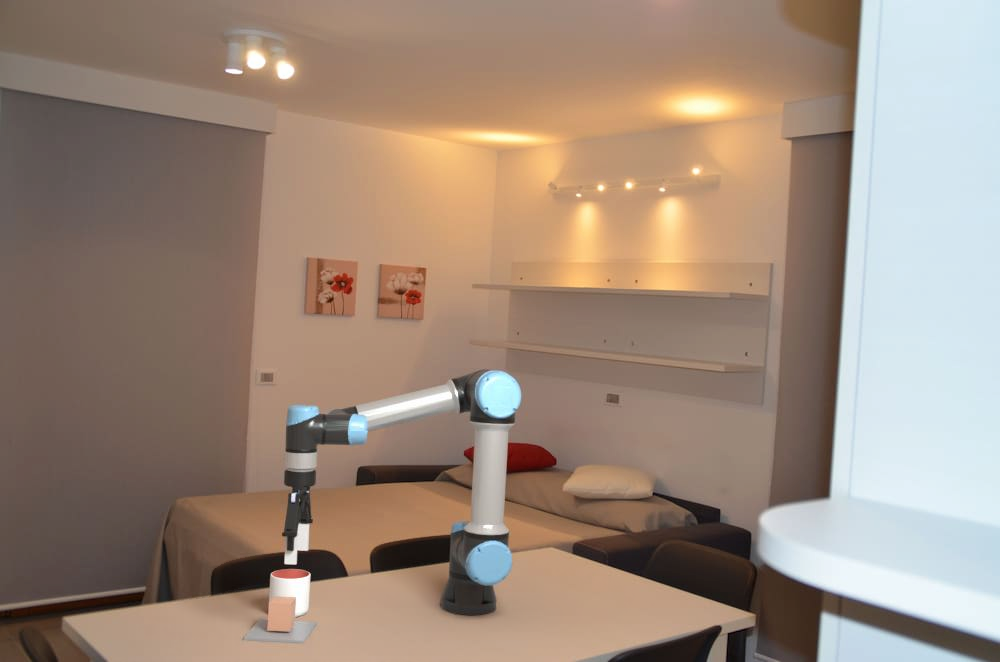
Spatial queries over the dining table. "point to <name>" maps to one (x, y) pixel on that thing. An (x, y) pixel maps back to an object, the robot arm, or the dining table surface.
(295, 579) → the cup
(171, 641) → the dining table surface
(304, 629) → the grey square plate
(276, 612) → the peach toy cube
